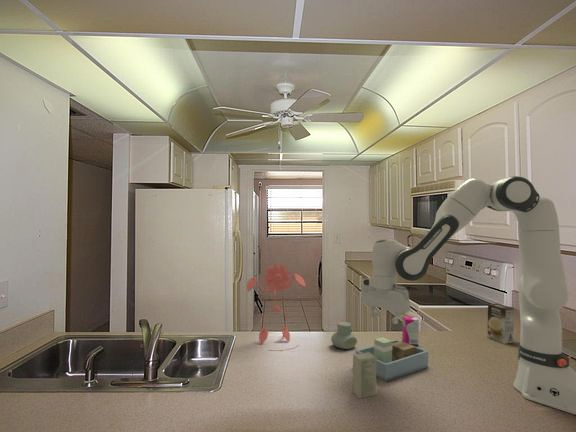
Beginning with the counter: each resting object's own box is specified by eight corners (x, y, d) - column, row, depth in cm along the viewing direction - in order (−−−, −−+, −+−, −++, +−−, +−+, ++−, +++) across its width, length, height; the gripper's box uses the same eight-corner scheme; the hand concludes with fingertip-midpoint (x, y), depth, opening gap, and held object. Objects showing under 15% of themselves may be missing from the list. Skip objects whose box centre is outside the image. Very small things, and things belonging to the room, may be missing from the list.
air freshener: (346, 341, 155) (346, 319, 155) (359, 347, 148) (360, 324, 148) (327, 346, 149) (328, 323, 149) (341, 352, 142) (341, 328, 142)
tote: (427, 366, 130) (428, 351, 130) (385, 382, 117) (386, 364, 117) (396, 353, 142) (396, 339, 142) (355, 366, 129) (355, 350, 129)
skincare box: (369, 389, 112) (369, 351, 112) (376, 396, 107) (377, 357, 107) (351, 391, 110) (352, 353, 110) (358, 398, 105) (359, 359, 106)
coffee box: (486, 337, 164) (486, 303, 164) (495, 336, 167) (496, 303, 167) (504, 344, 156) (505, 308, 156) (514, 342, 158) (514, 307, 158)
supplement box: (414, 341, 157) (415, 316, 157) (418, 346, 151) (419, 320, 151) (401, 340, 158) (402, 315, 158) (405, 345, 152) (405, 319, 152)
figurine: (244, 339, 154) (246, 261, 153) (299, 336, 159) (302, 261, 159) (247, 354, 139) (250, 267, 138) (309, 350, 144) (311, 267, 144)
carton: (391, 368, 126) (392, 340, 126) (383, 371, 123) (383, 343, 123) (382, 363, 130) (382, 337, 130) (373, 366, 127) (374, 339, 127)
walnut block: (415, 362, 132) (415, 346, 132) (403, 366, 128) (404, 350, 128) (400, 355, 138) (400, 340, 138) (388, 359, 134) (389, 344, 134)
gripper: (414, 286, 120) (414, 326, 120) (369, 278, 137) (369, 312, 137) (402, 288, 116) (402, 329, 116) (358, 279, 133) (358, 315, 133)
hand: (384, 320), depth 127 cm, fingers open, 8 cm apart
